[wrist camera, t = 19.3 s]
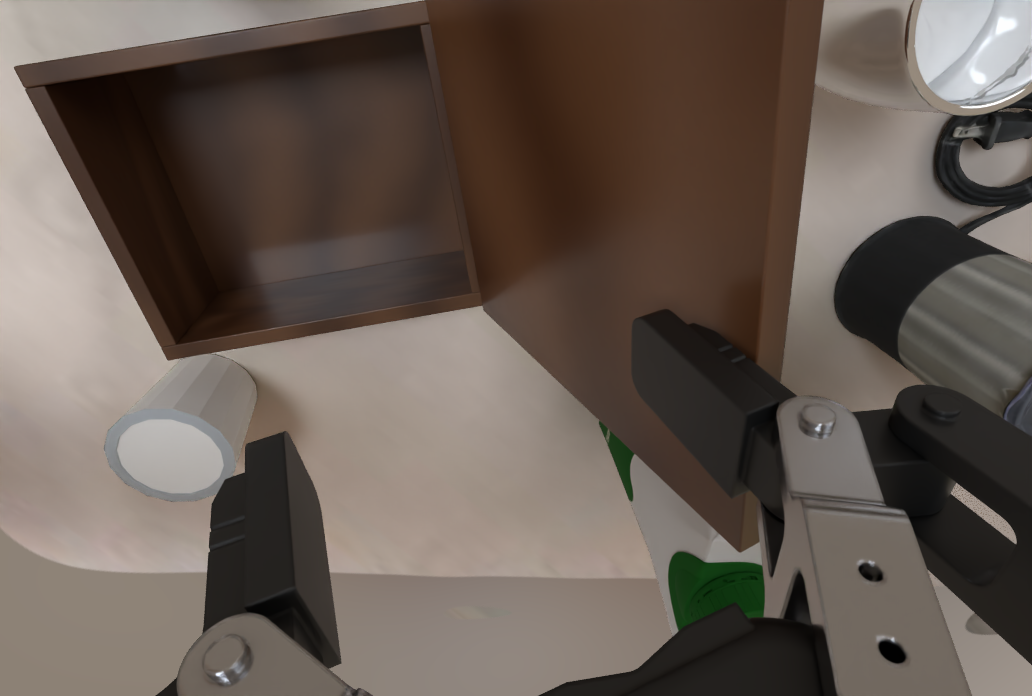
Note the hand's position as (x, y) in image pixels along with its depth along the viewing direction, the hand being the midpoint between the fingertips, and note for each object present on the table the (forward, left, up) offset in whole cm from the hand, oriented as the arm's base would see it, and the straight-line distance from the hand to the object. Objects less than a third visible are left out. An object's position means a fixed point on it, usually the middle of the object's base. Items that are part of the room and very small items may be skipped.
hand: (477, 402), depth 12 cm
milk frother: (+30, -9, -24) cm, 40 cm away
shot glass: (-19, -12, -24) cm, 33 cm away
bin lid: (+3, +1, -8) cm, 8 cm away
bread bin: (-8, +1, -24) cm, 25 cm away
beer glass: (+18, +5, -24) cm, 31 cm away
